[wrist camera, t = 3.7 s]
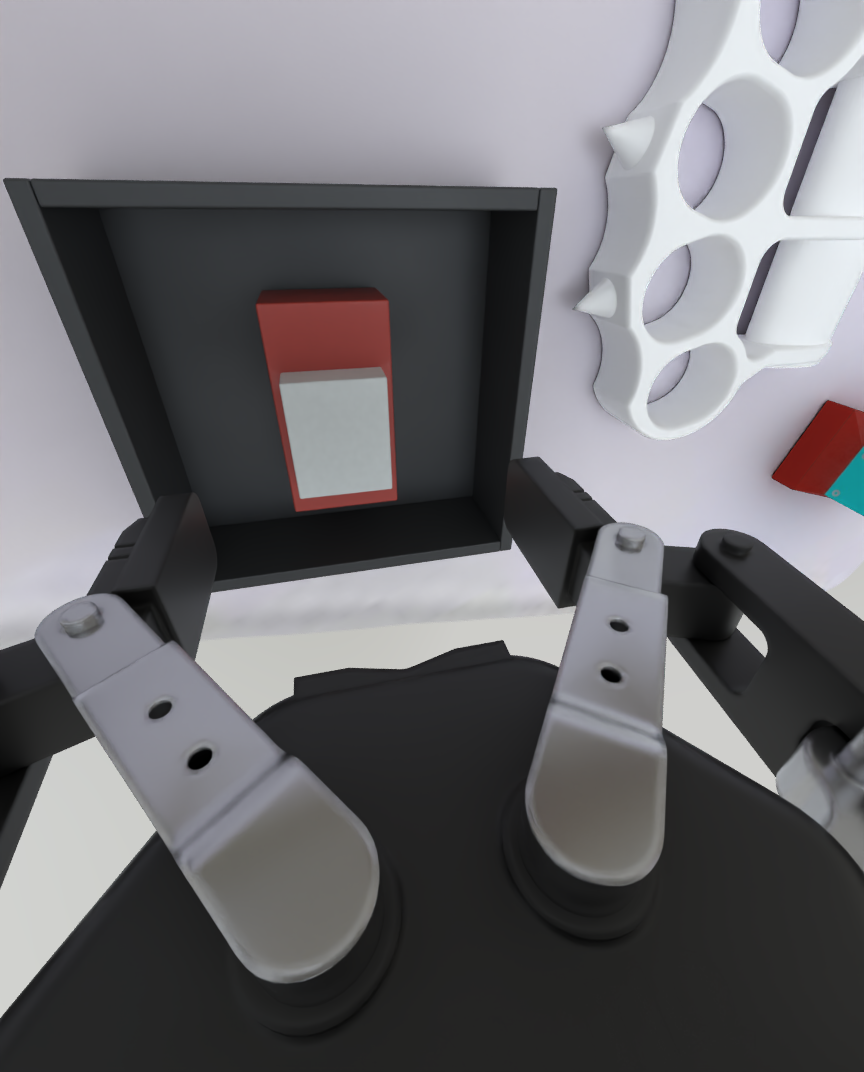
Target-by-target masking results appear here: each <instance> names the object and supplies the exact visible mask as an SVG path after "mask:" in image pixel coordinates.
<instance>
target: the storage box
mask: <svg viewBox="0 0 864 1072" xmlns="http://www.w3.org/2000/svg"><path fill="white" fill-rule="evenodd" d="M3 182H4V184H5V187H6V189H7V191H8V194H9V196H10V199H11V201H12V203H13V206H14V208H15V211H16V213H17V215H18V218H19V220H20V222H21V225H22V227H23V230H24V232H25V234H26V237H27V239H28V242H29V244H30V246H31V249H32V251H33V254H34V256H35V258H36V261H37V263H38V265H39V268H40V270H41V273H42V275H43V277H44V280H45V282H46V285H47V287H48V289H49V292H50V294H51V297H52V299H53V301H54V304H55V306H56V308H57V311H58V313H59V316H60V318H61V320H62V323H63V325H64V328H65V330H66V332H67V335H68V337H69V340H70V342H71V344H72V347H73V349H74V351H75V354H76V356H77V359H78V361H79V363H80V366H81V368H82V371H83V373H84V375H85V378H86V380H87V383H88V385H89V387H90V390H91V392H92V394H93V397H94V399H95V402H96V404H97V406H98V409H99V411H100V414H101V416H102V418H103V421H104V423H105V426H106V428H107V430H108V433H109V435H110V437H111V440H112V442H113V445H114V447H115V449H116V452H117V454H118V457H119V459H120V461H121V464H122V466H123V469H124V471H125V473H126V476H127V478H128V480H129V483H130V485H131V488H132V490H133V492H134V495H135V497H136V500H137V502H138V504H139V507H140V509H141V512H142V514H143V516H144V518H148V517H149V515H150V514H151V512H152V510H153V508H154V506H155V504H156V502H157V500H158V498H159V497H160V496H163V495H173V494H182V493H192V492H194V493H196V494H197V496H198V498H199V500H200V502H201V505H202V508H203V511H204V514H205V517H206V520H207V523H208V526H209V529H210V532H211V535H212V538H213V541H214V544H215V548H216V553H217V570H216V575H215V579H214V583H213V587H212V591H211V593H212V592H219V591H226V590H233V589H240V588H247V587H254V586H261V585H267V584H274V583H281V582H288V581H295V580H302V579H309V578H316V577H323V576H330V575H337V574H344V573H351V572H358V571H365V570H372V569H379V568H386V567H393V566H400V565H407V564H414V563H421V562H427V561H434V560H441V559H448V558H455V557H462V556H469V555H476V554H483V553H490V552H497V551H499V550H500V551H503V550H510V549H511V544H512V536H511V535H510V533H509V532H508V530H507V528H506V525H505V520H504V502H505V492H506V482H507V472H508V466H509V463H510V461H511V460H513V459H522V458H523V451H524V443H525V436H526V428H527V420H528V412H529V405H530V397H531V389H532V381H533V374H534V366H535V358H536V350H537V343H538V335H539V327H540V319H541V312H542V304H543V296H544V288H545V281H546V273H547V265H548V257H549V250H550V242H551V234H552V226H553V218H554V211H555V203H556V195H557V189H556V188H532V187H476V186H420V185H364V184H308V183H252V182H196V181H139V180H83V179H26V178H5V179H3ZM372 287H375V288H376V289H378V290H379V291H380V292H381V293H382V294H383V295H384V296H385V297H386V298H387V299H388V301H389V314H390V337H391V360H392V383H393V406H394V430H395V453H396V476H397V500H395V501H387V502H378V503H369V504H361V505H352V506H343V507H335V508H326V509H318V510H309V511H300V512H296V511H295V508H294V503H293V498H292V492H291V487H290V482H289V477H288V472H287V467H286V461H285V456H284V451H283V446H282V441H281V436H280V430H279V425H278V420H277V415H276V410H275V405H274V399H273V394H272V389H271V384H270V379H269V374H268V369H267V363H266V358H265V353H264V348H263V343H262V338H261V332H260V327H259V322H258V317H257V312H256V307H255V306H256V302H257V300H258V298H259V296H260V293H261V291H263V290H294V289H333V288H372Z"/></svg>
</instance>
